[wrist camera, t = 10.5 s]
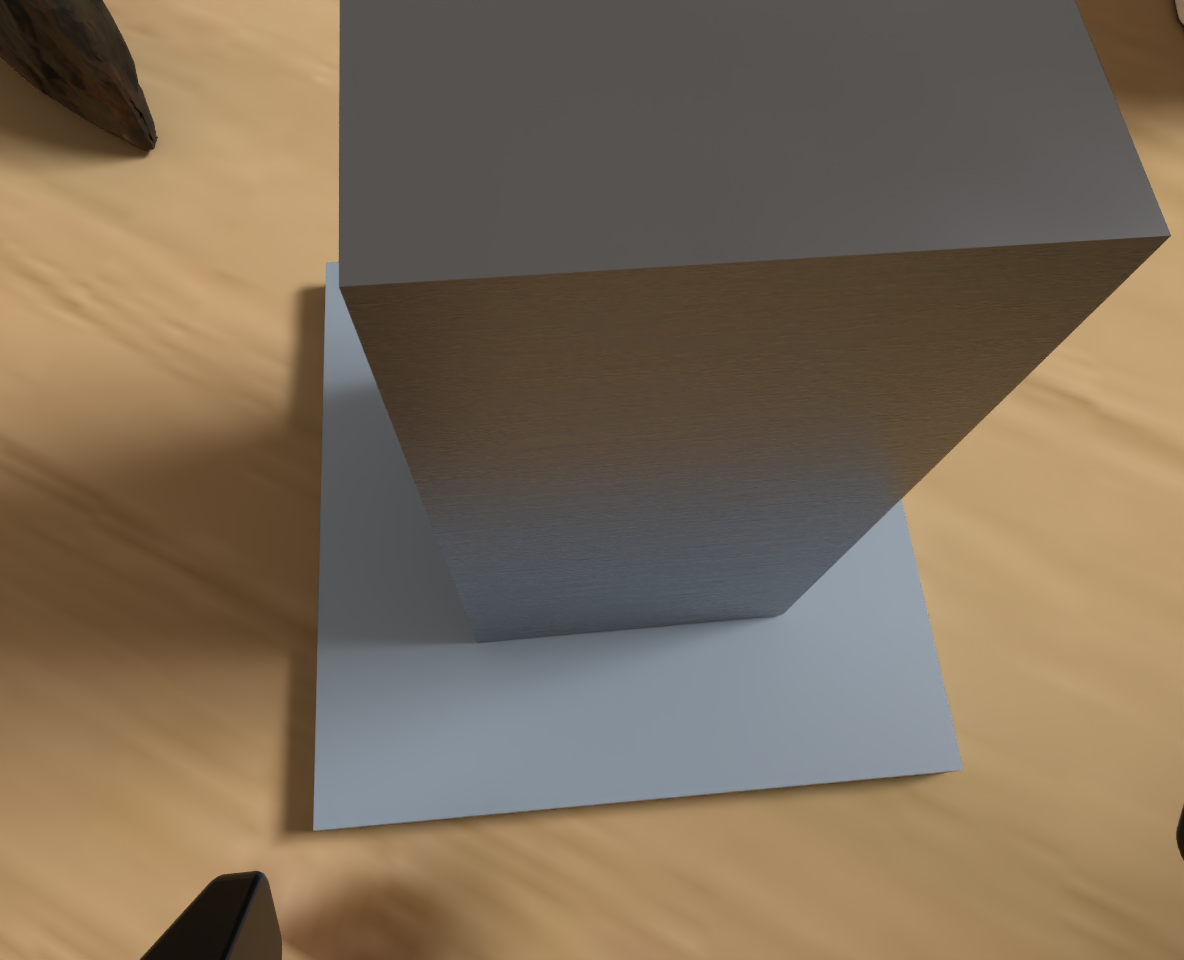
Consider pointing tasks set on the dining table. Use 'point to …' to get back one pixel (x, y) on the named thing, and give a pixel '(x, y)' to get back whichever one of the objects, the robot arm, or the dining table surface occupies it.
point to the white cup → (1180, 9)
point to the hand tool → (78, 62)
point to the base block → (585, 666)
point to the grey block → (710, 274)
